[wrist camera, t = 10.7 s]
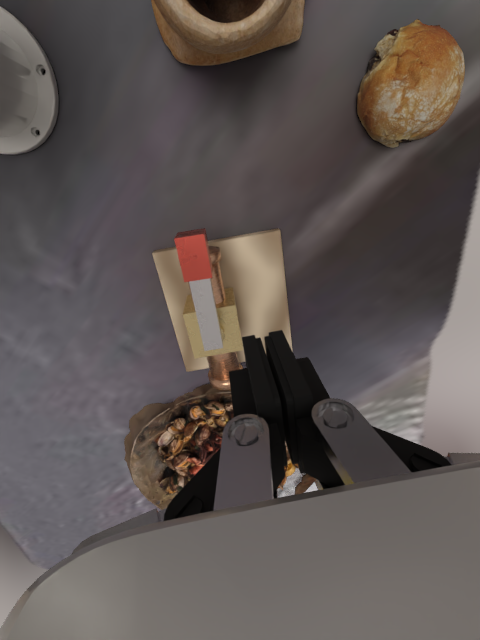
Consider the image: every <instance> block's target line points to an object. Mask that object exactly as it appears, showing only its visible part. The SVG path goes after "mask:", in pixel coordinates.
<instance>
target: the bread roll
mask: <svg viewBox="0 0 480 640" xmlns="http://www.w3.org/2000/svg"><path fill="white" fill-rule="evenodd" d="M374 51H376V52H377V55H376V56H375V57H373V58H372V59H370V61H369V64H368V72H367V73H366V75H365V76H364V77H363V79H362V81H361V85H360V89H359V93H358V95H357V96H358V100H357V114H358V116H359V118H360V121H361V123H362V125H363V126H364V128H365V129H366V131H367V132H368V134H369V135H370V136H371V138H372V139H373V140H376V141H378V142H380V143H382V144H383V145H385V146H386V147H391V148H394V147H397V146H399V142H411V141H412V140H418V139H421V138H424V137H427V136H429V135H431V134H432V133H434V132H435V131H437V130H438V129H439V128H440V127H441V126H442V125H443V124H444V123H445V122H446V121H447V120H448V118H449V117H450V115H451V114H452V112H453V110H454V108H455V106H456V104H457V102H458V100H459V98H460V93H461V90H462V86H463V82H464V75H465V65H464V57H463V52H462V50H461V49H460V47H459V46H458V44H457V42H456V41H455V39H454V38H453V37H452V36H451V35H450V34H449V33H448V32H447V30H445V29H443V28H441V27H440V25H436V26H432V25H431V26H428V25H426V24H422V23H421V22H420V20H419V19H416V20H415V21H414V22H413V23H411V24H409V25H408V26H405V27H401V28H400V29H399V31H398V30H396V29H394V30H392V31H390V32H388V33H387V35H386V36H385V37H384V38H383V39H382V40H380V41H379V42H378V43H377V46H376V47H375V50H374Z"/></svg>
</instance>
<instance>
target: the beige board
mask: <svg viewBox="0 0 480 640" xmlns="http://www.w3.org/2000/svg"><path fill="white" fill-rule="evenodd" d="M208 246H217V247H219V248H220V252H221V258H222V259H221V261H219V266H220V271H221V276H222V281H223V286H224V289H226V288H231V287H233V292H234V297H235V303H236V308H237V314H238V319H239V325H240V331H241V337H245V336H251V335H255V337H256V338H259V337H260V338H261V341H262V344H263V347H264V350H265V353H266V348H265V340H264V337H265V336H269V332H273V331H279V330H282V331H283V333H284V335H285V337H286V339H287V341H288V343H289V346H290V348H291V350H292V342H291V332H290V322H289V312H288V302H287V292H286V282H285V272H284V263H283V253H282V243H281V233H280V230H279V229H278V228H277V229H272V230H266V231H260V232H255V233H249V234H244V235H238V236H233V237H227V238H221V239H216V240H210V241H208ZM152 254H153V258H154V261H155V265H156V268H157V272H158V275H159V278H160V282H161V285H162V289H163V292H164V296H165V299H166V302H167V306H168V309H169V313H170V316H171V320H172V323H173V326H174V330H175V333H176V337H177V340H178V344H179V347H180V350H181V354H182V357H183V361H184V364H185V368H186V371H187V372H189V371H194V370H200V369H206V368H209V365H208V361H207V357H202V358H196V359H195V358H194V354H193V351H192V347H191V343H190V340H189V336H188V332H187V329H186V325H185V321H184V318H183V311H184V307H185V303H186V298H187V295H191V293H190V289H189V285H188V282H184V279H183V274H182V270H181V267H180V263H179V260H178V253H177V249H176V247H171V248H166V249H160V250H154V252H153V253H152ZM242 344H243V342H242ZM236 352H237V357H238V362H239V363H240V362H245V355H244V348H243V350H241V351H236ZM292 352H293V351H292Z"/></svg>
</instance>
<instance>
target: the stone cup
mask: <svg viewBox="0 0 480 640" xmlns="http://www.w3.org/2000/svg"><path fill="white" fill-rule="evenodd" d="M151 2H152V7H153V11H154V15H155V18H156V22H157V25H158V28H159V30H160V33H161V36H162V38H163V41H164V42H165V44H166V45H167V46H168V48H169V49H170V50H171V52H172V54H173V56H174V57H175V58H176V60H178V61H179V62H181V63H185V64H189V65H197V66H207V65H218V64H223V63H227V62H231V61H235V60H239V59H242V58H245V57H248V56H252V55H255V54H258V53H261V52H264V51H267V50H270V49H273V48H276V47H279V46H283V45H287V44H290V43H293V42H295V41H297V40H299V38H300V36H301V32H302V27H303V13H304V5H305V0H151Z"/></svg>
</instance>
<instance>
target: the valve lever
mask: <svg viewBox="0 0 480 640" xmlns="http://www.w3.org/2000/svg"><path fill="white" fill-rule="evenodd" d="M174 240H175V244H176V249H177V253H178V257H179V261H180V266H181V270H182V274H183V279H184V282H189V285H190V289H191V293H192V298H193V302H194V307H195V311H196V316H197V320H198V324H199V329H200V333H201V338H202V342H203V346H204V351H208V350H215V349H221V348H223V339H222V333H221V328H220V323H219V318H218V312H217V307H216V302H215V297H214V292H213V286H212V281H211V278H212V274H213V268H212V262H211V257H210V252H209V246H208V241H207V236H206V230H205V228H204V229H197V230H191V231H185V232H178V233H177V235H176V237H175V238H174Z"/></svg>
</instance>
